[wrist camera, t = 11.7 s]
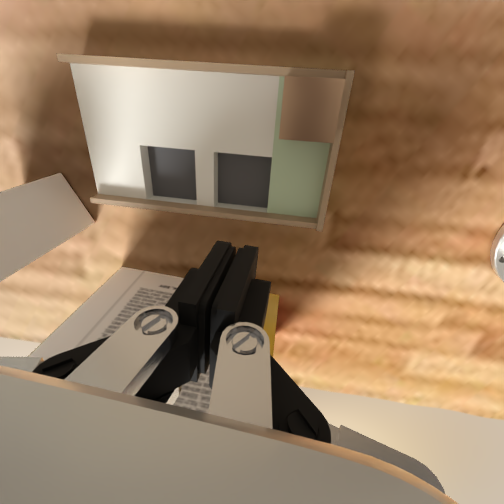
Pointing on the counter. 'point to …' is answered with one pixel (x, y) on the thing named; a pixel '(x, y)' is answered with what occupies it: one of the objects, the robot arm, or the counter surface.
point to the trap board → (202, 139)
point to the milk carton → (37, 221)
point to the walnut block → (310, 108)
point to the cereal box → (124, 307)
